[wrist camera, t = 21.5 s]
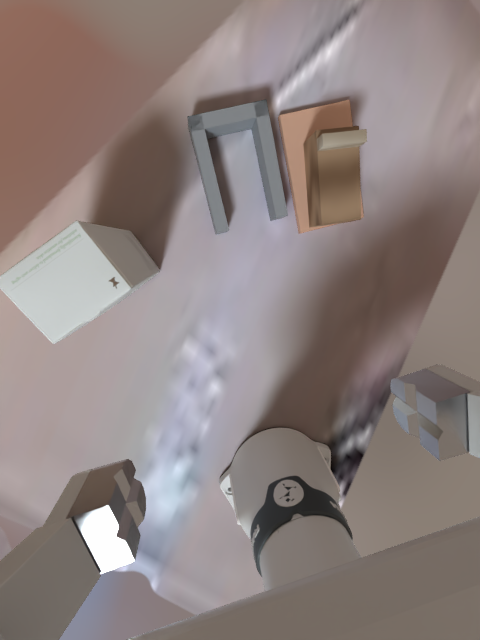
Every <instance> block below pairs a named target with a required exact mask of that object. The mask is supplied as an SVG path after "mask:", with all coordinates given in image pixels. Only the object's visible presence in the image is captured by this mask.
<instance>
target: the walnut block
mask: <svg viewBox="0 0 480 640" xmlns="http://www.w3.org/2000/svg"><path fill="white" fill-rule="evenodd" d="M365 142H367V132H366V129H364V130H359V126H352V127H343V128H333V129H323V130H316V131H315V132H314V133H313V134H312V135H311V136H310V137H309V138H308V139H307V140H306V142H305V143H304V144H303V146H304V160H305V174H306V188H307V202H308V216H309V228H310V227H317V226H324V225H332V224H339V223H346V222H350V221H355V220H360V219H361V194H360V157H359V146H361V145H362V144H364V143H365Z"/></svg>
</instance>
